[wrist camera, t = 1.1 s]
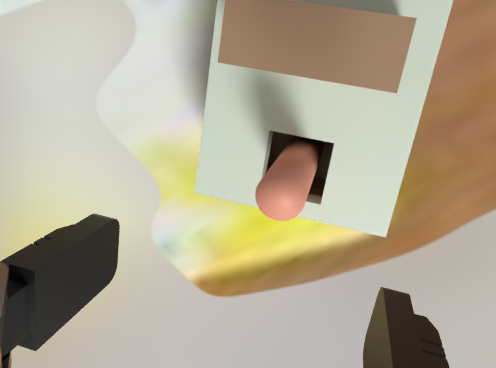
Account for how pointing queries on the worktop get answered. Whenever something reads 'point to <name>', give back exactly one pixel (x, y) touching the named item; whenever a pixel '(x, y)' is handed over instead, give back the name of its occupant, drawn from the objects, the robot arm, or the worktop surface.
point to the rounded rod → (289, 179)
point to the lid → (319, 97)
